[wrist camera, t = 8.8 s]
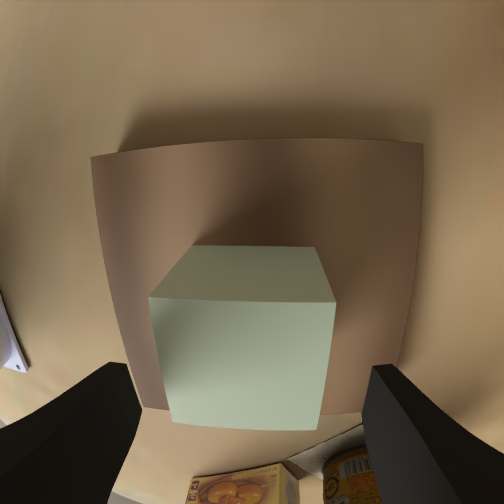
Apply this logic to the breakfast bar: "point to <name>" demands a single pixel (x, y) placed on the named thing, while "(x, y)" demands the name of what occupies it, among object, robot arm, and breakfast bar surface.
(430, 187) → the breakfast bar surface
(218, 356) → the sage cube
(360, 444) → the condiment
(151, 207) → the walnut block
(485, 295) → the breakfast bar surface
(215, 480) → the candy box
